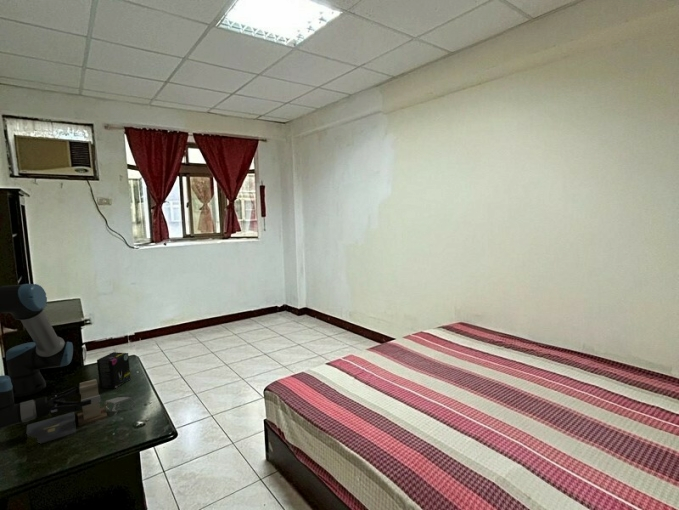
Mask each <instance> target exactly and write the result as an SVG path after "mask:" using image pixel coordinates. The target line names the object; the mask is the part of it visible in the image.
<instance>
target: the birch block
mask: <svg viewBox="0 0 679 510" xmlns="http://www.w3.org/2000/svg"><path fill="white" fill-rule="evenodd" d="M79 388H80V392H81V394H80V397H81V398H80V401H81V400H83V399H87V398H90V397H94V396H98V395H100V394H99V386H98V381H97V378H94V379H91V380H87V381H83V382H79ZM100 403H101V402H98V403H94V404H91V405H87V406H84V407H82V412H83V416H84V420H86V419H89V418H93V417H96V416H99V415H101V411H100V407H101V404H100Z"/></svg>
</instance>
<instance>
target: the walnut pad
mask: <svg viewBox="0 0 679 510" xmlns="http://www.w3.org/2000/svg"><path fill="white" fill-rule="evenodd" d="M106 409H107V408H106V407H105V405H104V406H100V411H101V415H99V416H96V417H93V418H89V419H86V420H84V416H83V411H82V412H78V413H77V421H78V426H79V427H80V426H83V425H87V424H90V423H94V422H98V421H99V420H103V419H107V418H108V414H107V410H106Z"/></svg>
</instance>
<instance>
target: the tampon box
mask: <svg viewBox="0 0 679 510" xmlns="http://www.w3.org/2000/svg"><path fill="white" fill-rule="evenodd" d="M96 364H97V373H98V383H99V387H100V388H101V387H103V388H104V389H112V388H114V390H116V389H117V388H119V387H120V385H121V384H122V383H124V382H126V381H127V380H129V379H130V380H131V369H130V358H129V352H114V351H113V352H111V353H108V354H107V355H104V356H102V357H99V358H98V359H97V360H96ZM130 380H129V381H130ZM127 382H128V381H127ZM127 382H126V383H127ZM124 384H125V383H124ZM122 385H123V384H122ZM122 385H121V386H122ZM118 386H119V387H118ZM115 388H116V389H115Z"/></svg>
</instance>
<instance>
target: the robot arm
mask: <svg viewBox="0 0 679 510" xmlns="http://www.w3.org/2000/svg"><path fill="white" fill-rule="evenodd" d="M47 303H48V297H47V293H46V291H45V289H44V288H43V286H41V285H39V284H37V283H23V284H11V285H0V315H1V314H10V315H11V316H12V317H13V319H15V320H17V321H18V320H19V321H20V322H21V324H22V325H23V327H24V329H25V330H26V331H27V333H28V334H29V336H30V337H31V339H32V341H31V342H30V341H29V342H26V343H22V344H19V345H15V346H12V347H11V348H9V349H7V350H6V352H5V361H6V365H7V367H6V368H7V373H8V375H6V374H5V375H0V430H1V429H4V428H8V427H11V426H15V425H18V424H22V423H25V422H26V423H29V422H30V421H34V420H36V418H37V419H39V418H44V417H48V416H49V415H50V414H51V415H55V414H60V413H71V412H78V411H83V408H82V407H84V406H87V405H91V404H94V403H98V402H100V403H101V401H102V400H101V395H100V394H99V395H98V396H94V397H90V398H87V399H83V400H81V399H80V401H79V400H77V401H76V400H72V401H71V400H70V399H71V398H74V397H75V396H77V395H81V392H80V385H76V386H74V387H71V388H68V389H66V390H64V391H61V392H59V393H55V394H52V395H50V399H48V396H42V397H38V398H36V399H30V400H26V401H22V402H19V403H15V398H14V397H20V398H23V397H22V396H25V397H28V395H29V396H32V395H34V394H37V393H39V392H41V391H43V390H45V388H46V387H47V383H46V380H45V378H44V377H43V375H42V373H41V371H40V370H43V369H53V368H62V367H65V366H68V365H70V363H71V362H72V359H73V356H74V355H73V354H74V345H73V342H71V341H66V342H65V340H64V338H63V337H60V336H58V335H57V333H56V332H55V329H54V327H53V326H52V324H51V323H50V321H49V318H48V317H47V315H46V313H45V311H44V310H45V308H46V306H47ZM69 400H70V401H69Z"/></svg>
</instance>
